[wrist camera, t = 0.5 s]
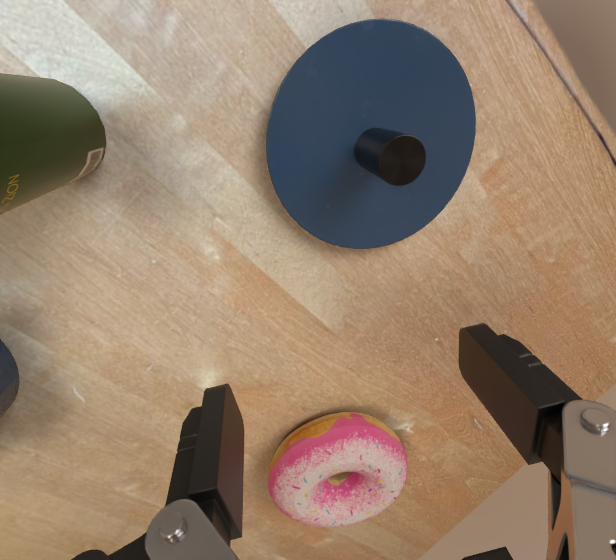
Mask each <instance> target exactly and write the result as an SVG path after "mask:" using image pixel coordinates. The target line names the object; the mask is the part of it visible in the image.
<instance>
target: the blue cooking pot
mask: <svg viewBox="0 0 616 560" xmlns="http://www.w3.org/2000/svg"><path fill="white" fill-rule="evenodd" d="M18 386H19V373H18V368H17V365H16V363H15V360H14V358H13V356H12V354H11V353H10V351H9V350H8V348H7V347H6V346H5V344H4V343H3V342H2V341H1V340H0V417H1V416H2V415H3V414H4V412H5V411H6V410H7V408H8V407H9V406H10V405H11V403H12V402H13V401H14V398H15V396H16V394H17V391H18Z"/></svg>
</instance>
